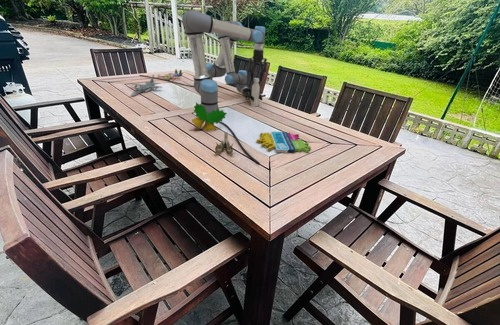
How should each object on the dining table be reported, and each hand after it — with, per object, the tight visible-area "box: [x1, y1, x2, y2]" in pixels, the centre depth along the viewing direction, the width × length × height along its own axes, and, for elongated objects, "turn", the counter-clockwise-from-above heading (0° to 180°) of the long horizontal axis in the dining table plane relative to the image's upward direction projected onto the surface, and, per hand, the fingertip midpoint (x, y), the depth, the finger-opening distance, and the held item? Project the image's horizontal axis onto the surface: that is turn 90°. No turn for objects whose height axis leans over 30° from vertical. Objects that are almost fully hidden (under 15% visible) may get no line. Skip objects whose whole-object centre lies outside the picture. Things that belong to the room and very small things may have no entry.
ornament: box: [191, 102, 228, 132], centre depth 162 cm, size 21×8×15 cm, turn 105°
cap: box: [253, 77, 260, 83], centre depth 205 cm, size 4×4×2 cm
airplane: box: [128, 74, 161, 97], centre depth 228 cm, size 38×31×10 cm
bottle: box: [250, 81, 261, 107], centre depth 210 cm, size 6×6×21 cm
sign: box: [256, 131, 312, 154], centre depth 152 cm, size 26×2×30 cm
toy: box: [156, 69, 183, 81], centre depth 280 cm, size 28×7×30 cm
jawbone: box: [214, 131, 234, 156], centre depth 136 cm, size 9×15×10 cm
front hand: (256, 81), depth 205 cm, fingers open, 7 cm apart
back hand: (257, 99), depth 208 cm, fingers closed on bottle, 7 cm apart
